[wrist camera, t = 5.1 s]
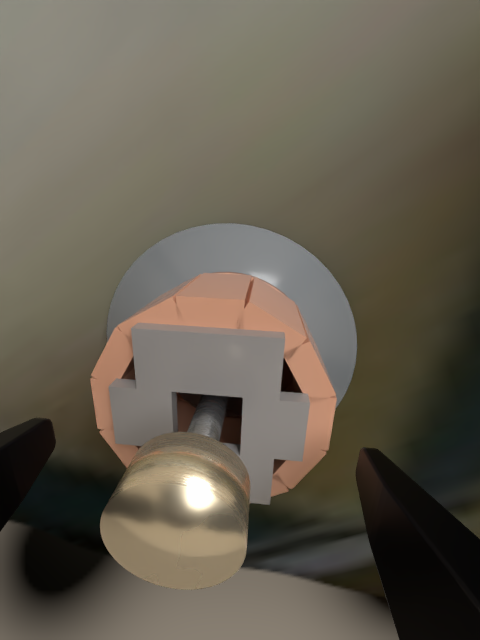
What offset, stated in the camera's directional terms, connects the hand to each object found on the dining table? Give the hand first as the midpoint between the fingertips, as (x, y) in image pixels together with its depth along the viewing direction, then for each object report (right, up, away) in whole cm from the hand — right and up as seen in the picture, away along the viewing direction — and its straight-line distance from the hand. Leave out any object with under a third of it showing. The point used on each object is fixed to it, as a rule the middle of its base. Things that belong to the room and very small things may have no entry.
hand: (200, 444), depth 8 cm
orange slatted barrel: (+1, +2, +6) cm, 6 cm away
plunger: (0, +2, +5) cm, 5 cm away
